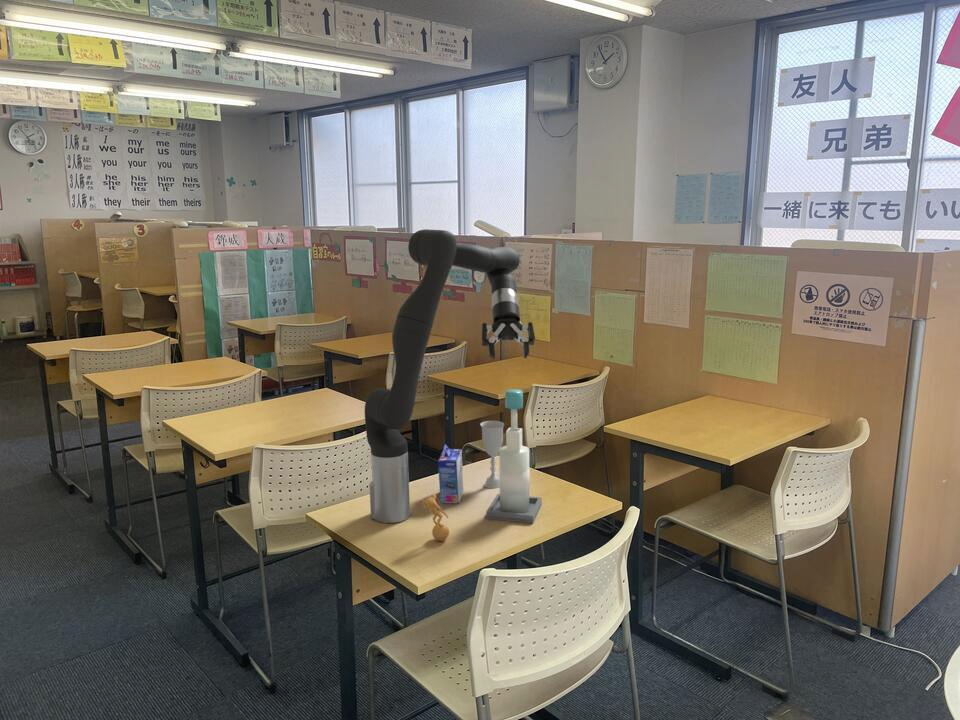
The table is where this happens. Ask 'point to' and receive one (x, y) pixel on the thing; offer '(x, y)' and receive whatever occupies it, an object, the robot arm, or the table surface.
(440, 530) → the figurine
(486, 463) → the table surface
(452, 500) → the ink cartridge box
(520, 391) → the pump plunger
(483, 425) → the chalice
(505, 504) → the pump bottle
